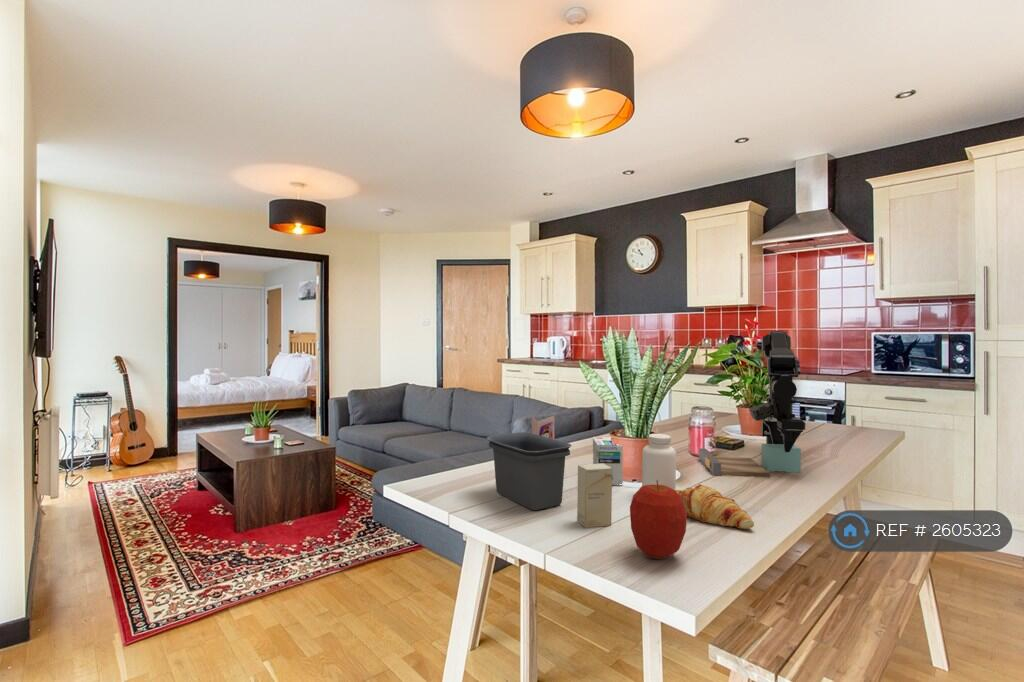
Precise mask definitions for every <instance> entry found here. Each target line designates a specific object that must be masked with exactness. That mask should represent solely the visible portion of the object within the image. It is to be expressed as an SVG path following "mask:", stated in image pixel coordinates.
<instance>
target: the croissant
mask: <svg viewBox="0 0 1024 682" xmlns="http://www.w3.org/2000/svg"><path fill="white" fill-rule="evenodd" d="M675 491H676V492H677V493H678V495H679V496H680V497H681V499H682V501H683V504H684V507H685V509H686V512H687V517H689V518H691V517H692V518H691V519H694V518H695V519H694V520H696V519H697V521H699V520H700V521H699V522H702V521H703V523H706V522H707V524H712V525H719V526H722V527H723V526H724V527H729V528H731V527H735V528H737V529H739V530H740V529H742V530H743V529H744V530H748V529H752V528H753V527H754V526H755V525H754V524H755V521H753V519H752V518H751V516H750V515H749V514H748V512H747V511H746V510H745V509H742V508H741V507H740V505H738V503H737V502H736V501H735V499H733V498H728V497H724V496H723V494H722V493H721V492H719V490H717V489H716V488H712V487H710V486H708V485H703V484H701V483H700V484H698V485H696V486H694V488H692V487H687V488H686V489H683V490H682V489H675Z"/></svg>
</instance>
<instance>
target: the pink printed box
mask: <svg viewBox="0 0 1024 682" xmlns="http://www.w3.org/2000/svg"><path fill="white" fill-rule="evenodd" d="M531 433H534V434H537V435H541V436H545V437H548V438H552V439H555V415H551V416H550V417H546V418H544V419H540V420H538V421H537V419H536V418H535V417H534V415H533V414H531Z"/></svg>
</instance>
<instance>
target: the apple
mask: <svg viewBox="0 0 1024 682" xmlns="http://www.w3.org/2000/svg"><path fill="white" fill-rule="evenodd" d="M656 482H657V485H645V486H642V485H641V487H640V488H639V489H638V490H637V491H636V492H635V493H634V494H633V496H632V499H631V503H630V505H629V514H630V529H631V533H632V535H633V538H634V541H635V543H636V547H637V548H638V549H639V550H640V551H641V552H642V553H643V554H644V555H645V556H646V557H647V558H650V559H653V560H663V559H666V558H669V557H671V556H672V555H674V554H675V553H677V552H678V551H679V550H680V548H681V546H682V543H683V540H684V537H685V534H686V532H687V523H688V522H687V521H688V520H687V519H688V516H687V512H686V509H685V507H684V504H683V501H682V499H681V497H680V496H679V495H678V493H677V492H676V491H675V490H676V489H675V490H674V489H672V488H669V487H667V486H664V485H658V480H657V481H656Z"/></svg>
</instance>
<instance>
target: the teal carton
mask: <svg viewBox="0 0 1024 682" xmlns="http://www.w3.org/2000/svg"><path fill="white" fill-rule="evenodd" d="M801 457H802V449H801V447H799V446H797V445H795V444H794V445H793V447H792V448H791V450H790V452H785V449H784V444H766V443H761V466H762V467H763V468H764V469H766V470H767V471H768V472H774V471H786V472H785V473H799V472H801V473H802V471H801V469H802V467H801V466H802V465H801V464H802V461H801V460H802V458H801Z"/></svg>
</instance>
